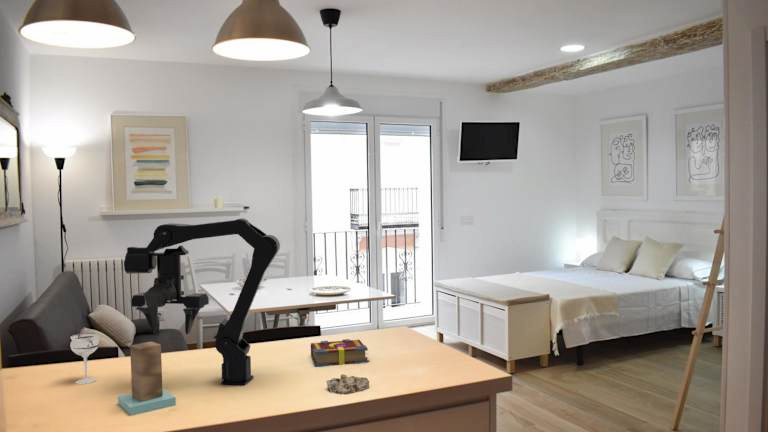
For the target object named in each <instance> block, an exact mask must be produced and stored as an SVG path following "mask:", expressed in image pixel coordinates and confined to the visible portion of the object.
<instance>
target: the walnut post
mask: <svg viewBox="0 0 768 432" xmlns="http://www.w3.org/2000/svg"><path fill="white" fill-rule="evenodd" d="M129 347H130V349H129V350H130V352H129V353H130V376H131V393H132V397H133V398H135V399H137V400H139V401H141V402H142V401H146V400H150V399H153V398H157V397H161V396H163V389H162V388H163V367H162V365H163V363H162V362H163V361H162V344H160V343H157V342H154V341H147V342H140V343H136V344H131V345H129Z"/></svg>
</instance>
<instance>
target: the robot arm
mask: <svg viewBox="0 0 768 432" xmlns="http://www.w3.org/2000/svg"><path fill="white" fill-rule="evenodd" d="M234 235H238V236H240V237H241V239H243V240H244V241H245V242H246V243H247V244H248V245H249V246H251V247H252V248H253V253H252V255H251V256H252V259H251V264H250V268H249V272H248V274H247V276H246V277H245V280H244V283H243V285H242V289H241V290H240V292H239V293H240V294H239V295H238V297H237V300H236V303H235V305H234V307H233V310H232V313H231V315H230V317H229V319H226V318H223V320H221V321H220V323H219V325H218V330H217V333H216V335H214V336H213V339H215V341H214V347H215V350H216V351H217V352H218V353H219V354H221V356H222V362H223V363H221V381H220V384H221V385H233V386H234V385H236V386H241V385H242V386H244V385H247V383H249V382H250V381H251V380H253V379H254V377H255V376H254V375H252V366H251V365H252V361H251V360H252V359H251V358H252V357H251V355H248V353H250V349H251V344H250V343H248V342H247V341H246V340H245V339H244V338H243V337H244V331H245V325H246V319H247V317H248V314H249V312H250V309H251V307H252V305H253V302H254V299H255V298H256V295H257V293H258V290H259V288H260V285H261V283H262V280H263V279H264V278H263V277H264V275H265V273H266V271H267V270H268V268H269V267H270V265H271V263H272V262H273V260H274V259H275V257H277V254H278V253H279V251H280V247H281V243H280V241H279V239H278V237H277V236H275V235H272V234H267V233H265V232H264V231H262V230H261V229H259V228H257V226H255V225H254V224H252V223H251V222H249V220H248V219H246V218H241V217H240V218H237V219H233V220H232V219H230V220H224V221H217V222H208V223H207V222H206V223H199V224H187V223H173V222H172V223H170V222H169V223H165V224H161V225H158V226H156V228H155V229H154V232H153V237H152V240H151V241H150V242H149V244H148V245H146V247H144V246H142V247H141V246H140V247H138V246H128V247H127V248H126V253H125V256H124V260H123V268H124V272H125V274H128V275H129V274H131V275H133V274H134V275H135V274H139V275H140V274H152V272H153V270H156V273H157V275H156V277H155V278H154V280H153V286H151V287H150V288H149V289H148V290H146V291H145V292H144V291H143V292H141V293H137V294H133V295H132V297H131V299H130V306H131V308H132V307H133V308H134V307H135V310H137V311H140V312H141V313H142V314H143V315H144V317H145V319H146V322H147V323H148V325H149V328H150V331H151V333H152V334H156V333H157V329H158V316H159V315H158V314H159V310H158V309H159V308H161V307H164V306H166V304H171V305H172V304H175V305H183V306H184V307H185V308H183V309H182V310H183V313H184V315H185V317H184V319H185V321H184V322H185V323H184V330H185V334H186V335H189V334H190V332H191V331H192V327H193V325H194V322H195V320H196V318H197V316H198V314H199V312H200V310H201V309H203V308H204V307H205V306H207V305H209V304H210V303H209V302H210V301H209V298H210V297H209V296H208V294H207V293H206V292H205V293H204V292H203V293H199V292H195V293H191V294H187V295H186V296H185V291H184V290H182V280H184V279H185V278H184V274H182V265H181V264H182V263H181V262H182V259H181V256H186V255H188V254H190V252H189V250H187V249H186V248H185V247H184V245H179V246H177V248H176V247H175V248H169V247H172V246H175V245H178V244H182V243H186V242H188V241H192V240H198V239H208V238H215V237H216V238H217V237H223V236H234ZM165 248H166V249H165ZM163 249H164V251H162V252H156V251H160V250H163Z"/></svg>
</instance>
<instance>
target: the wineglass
mask: <svg viewBox="0 0 768 432" xmlns="http://www.w3.org/2000/svg"><path fill="white" fill-rule="evenodd" d="M98 337H99V333H97V332H83V333H77V334H73V335H70V339H71V342H70V345H69V347H70V349H71V351H72V352H73V353H74V354H75V355H77V356H81V357H82V358H83V365H84V366H83V367H84V378H82V379H78V380H76V381H75V384H77V385H86V384H92V383H94V382H93V381H95V380H96V379H97V378H94V377H88V357H90V355H92V354H93V353H94V352H95V351H97V349H98V348H99V345H100V340H99V338H98ZM96 381H97V380H96ZM96 381H95V382H96ZM91 382H92V383H91Z"/></svg>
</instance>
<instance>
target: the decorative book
mask: <svg viewBox="0 0 768 432" xmlns="http://www.w3.org/2000/svg"><path fill="white" fill-rule="evenodd" d="M366 351H368V347H367V346H366V344H363V342H362V340H360V339H352V340H351V339H350V338H349V339H348V338H347V339H342V340H337V341H328V340H320V342H311V343H310V356H311V359H312V362H313V366H314V368H318V367H319V368H320V367H327V366H330V365H331V366H332V365H333V366H334V365H338V366H344V365H343V364H362V363H361V362H367V363H368V362H369V361H368V360H369V359H368V358H367V357H366V355H368V353H367V352H366Z"/></svg>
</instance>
